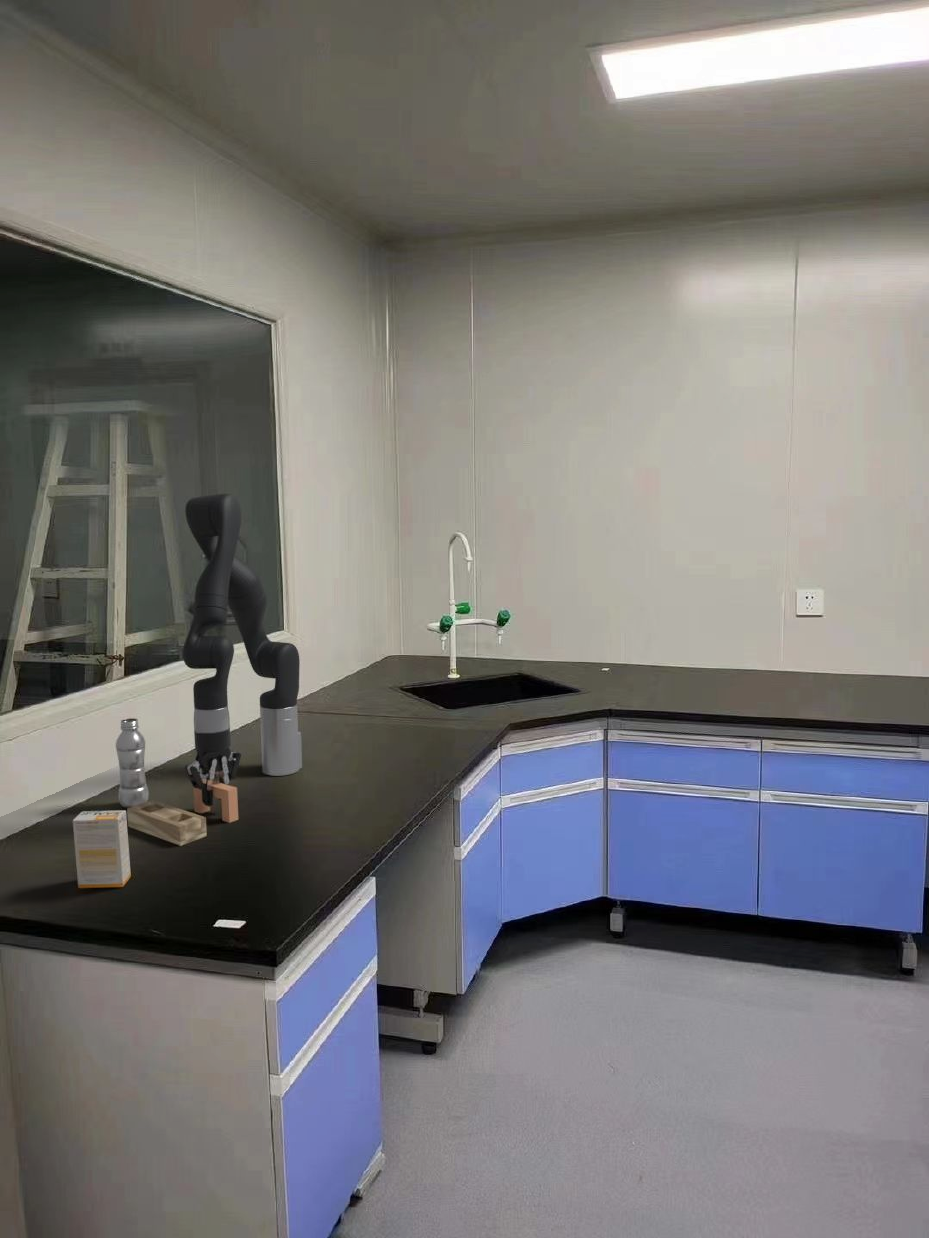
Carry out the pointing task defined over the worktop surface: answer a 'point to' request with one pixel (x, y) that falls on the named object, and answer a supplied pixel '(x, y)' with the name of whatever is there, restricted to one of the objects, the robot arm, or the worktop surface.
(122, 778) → the metal bottle
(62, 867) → the worktop surface
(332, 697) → the worktop surface
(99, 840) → the supplement box
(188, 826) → the rail
